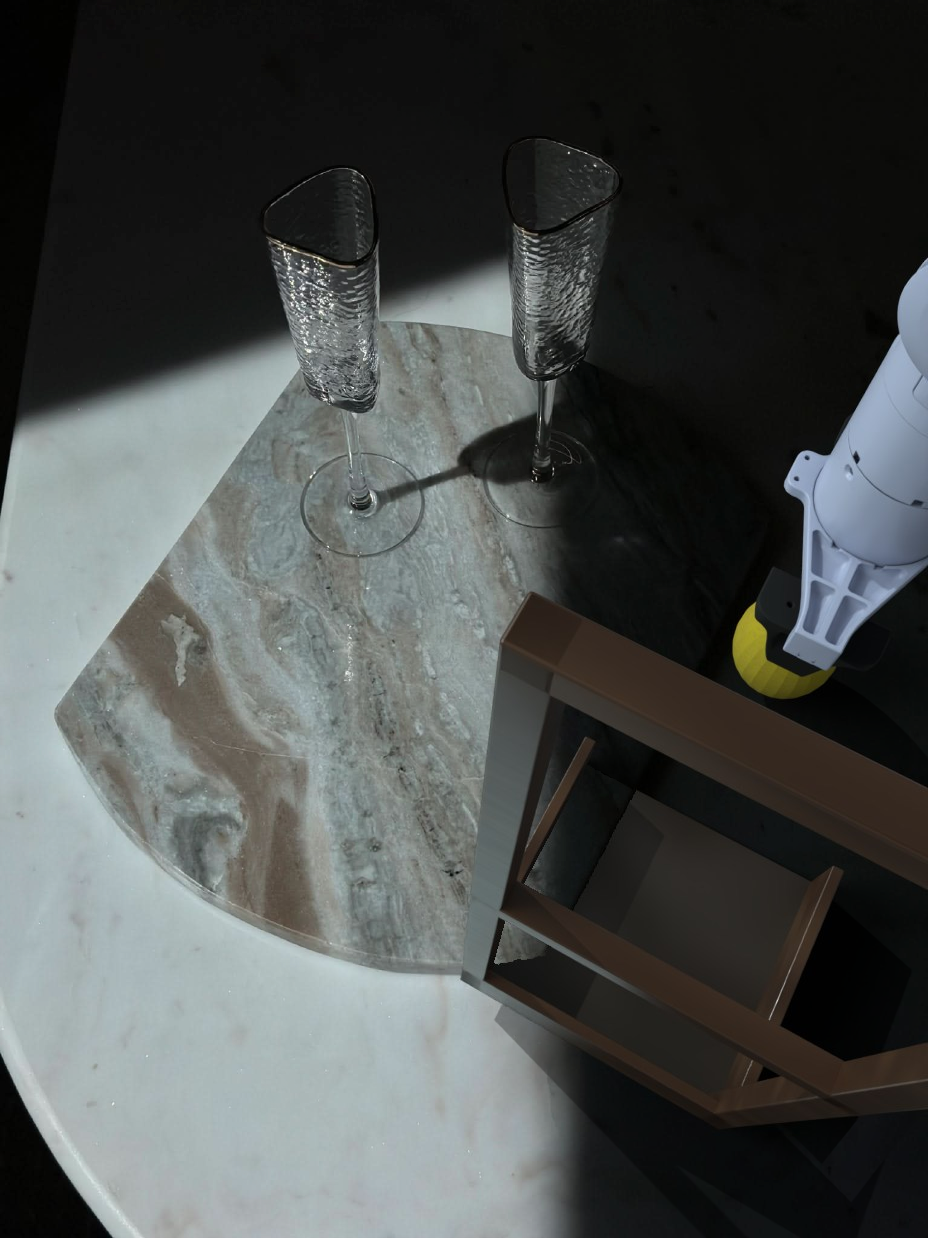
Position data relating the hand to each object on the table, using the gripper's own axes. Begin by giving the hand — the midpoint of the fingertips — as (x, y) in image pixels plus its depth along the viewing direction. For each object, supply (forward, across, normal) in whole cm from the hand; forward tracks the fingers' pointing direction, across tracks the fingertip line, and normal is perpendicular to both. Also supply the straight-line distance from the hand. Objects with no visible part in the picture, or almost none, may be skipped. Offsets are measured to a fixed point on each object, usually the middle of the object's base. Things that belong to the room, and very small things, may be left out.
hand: (816, 599), depth 57 cm
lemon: (+10, 0, 0) cm, 10 cm away
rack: (+10, +17, 0) cm, 19 cm away
